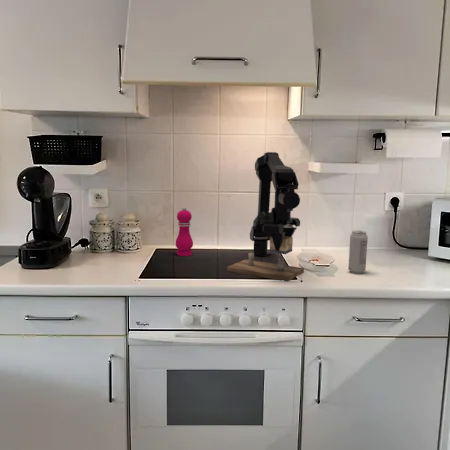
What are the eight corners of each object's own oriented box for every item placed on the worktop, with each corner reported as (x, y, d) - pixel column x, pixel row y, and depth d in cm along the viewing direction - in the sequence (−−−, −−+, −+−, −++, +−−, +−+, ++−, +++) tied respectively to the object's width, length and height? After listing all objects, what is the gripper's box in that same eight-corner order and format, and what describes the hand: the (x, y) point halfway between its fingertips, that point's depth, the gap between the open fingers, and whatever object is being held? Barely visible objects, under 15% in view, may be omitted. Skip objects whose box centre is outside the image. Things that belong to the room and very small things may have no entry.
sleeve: (276, 248, 177) (277, 235, 176) (292, 251, 174) (292, 237, 173) (269, 252, 172) (269, 238, 171) (285, 254, 169) (285, 240, 168)
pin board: (245, 262, 190) (246, 247, 189) (303, 272, 177) (304, 256, 176) (227, 270, 178) (227, 254, 177) (287, 281, 166) (288, 264, 164)
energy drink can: (354, 269, 182) (356, 229, 180) (368, 272, 178) (371, 232, 176) (344, 272, 178) (347, 231, 176) (359, 275, 174) (362, 234, 172)
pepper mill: (182, 257, 197) (181, 208, 194) (172, 254, 203) (171, 206, 199) (196, 254, 202) (196, 206, 198) (186, 251, 207) (186, 204, 204)
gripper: (273, 200, 182) (272, 241, 185) (249, 206, 167) (248, 250, 169) (301, 202, 177) (299, 245, 179) (279, 208, 161) (277, 255, 164)
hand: (281, 248), depth 173 cm, fingers closed on sleeve, 6 cm apart
